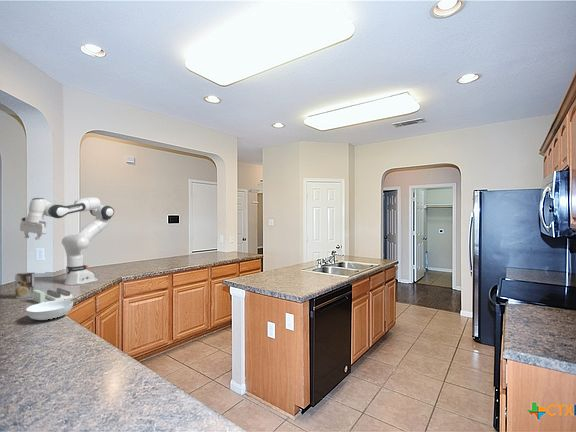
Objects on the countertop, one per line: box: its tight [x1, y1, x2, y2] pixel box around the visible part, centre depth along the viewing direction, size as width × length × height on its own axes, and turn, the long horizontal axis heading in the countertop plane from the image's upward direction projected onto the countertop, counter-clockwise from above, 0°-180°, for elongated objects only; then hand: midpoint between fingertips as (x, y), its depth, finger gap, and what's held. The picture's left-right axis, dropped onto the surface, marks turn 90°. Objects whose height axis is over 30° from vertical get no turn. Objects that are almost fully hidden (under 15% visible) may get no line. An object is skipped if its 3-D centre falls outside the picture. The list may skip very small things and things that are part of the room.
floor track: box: [45, 287, 73, 301], centre depth 202 cm, size 10×17×4 cm, turn 58°
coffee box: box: [14, 272, 36, 300], centre depth 202 cm, size 9×6×16 cm
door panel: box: [32, 289, 46, 304], centre depth 192 cm, size 2×12×7 cm, turn 58°
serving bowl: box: [25, 299, 74, 321], centre depth 167 cm, size 21×21×7 cm
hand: (31, 238), depth 212 cm, fingers open, 8 cm apart
